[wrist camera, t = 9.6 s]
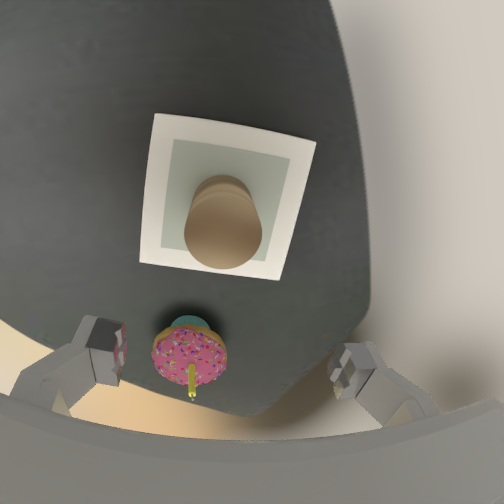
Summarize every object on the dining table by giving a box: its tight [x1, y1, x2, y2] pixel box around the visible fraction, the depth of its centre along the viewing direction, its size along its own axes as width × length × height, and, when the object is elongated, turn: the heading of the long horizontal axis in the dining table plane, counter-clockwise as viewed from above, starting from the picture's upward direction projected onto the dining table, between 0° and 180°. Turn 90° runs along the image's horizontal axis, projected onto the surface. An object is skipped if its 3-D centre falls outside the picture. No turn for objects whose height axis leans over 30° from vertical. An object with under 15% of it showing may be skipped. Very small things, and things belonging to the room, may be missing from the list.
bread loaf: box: [184, 175, 262, 269], centre depth 23 cm, size 5×5×7 cm
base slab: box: [140, 113, 316, 280], centre depth 28 cm, size 14×14×3 cm
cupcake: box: [151, 315, 227, 400], centre depth 30 cm, size 9×8×12 cm
